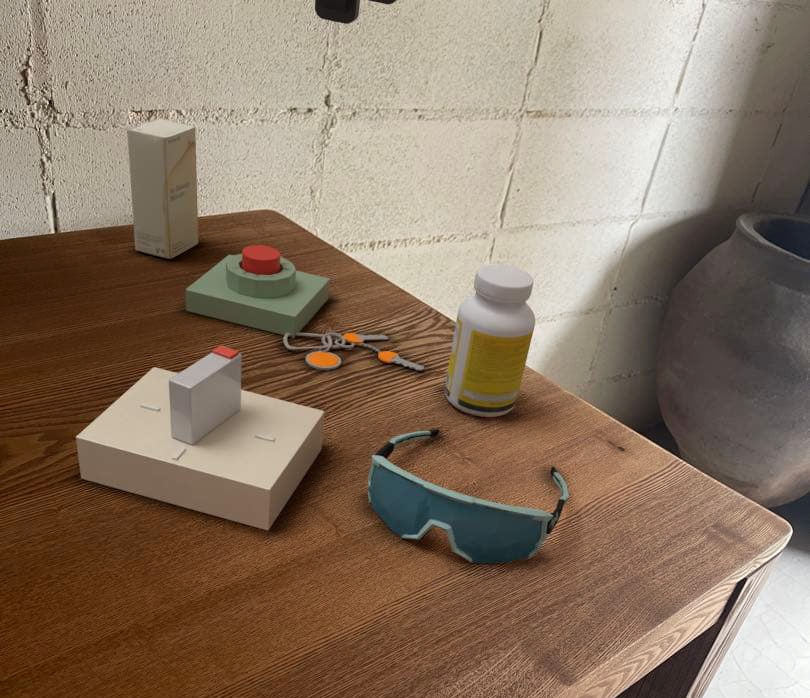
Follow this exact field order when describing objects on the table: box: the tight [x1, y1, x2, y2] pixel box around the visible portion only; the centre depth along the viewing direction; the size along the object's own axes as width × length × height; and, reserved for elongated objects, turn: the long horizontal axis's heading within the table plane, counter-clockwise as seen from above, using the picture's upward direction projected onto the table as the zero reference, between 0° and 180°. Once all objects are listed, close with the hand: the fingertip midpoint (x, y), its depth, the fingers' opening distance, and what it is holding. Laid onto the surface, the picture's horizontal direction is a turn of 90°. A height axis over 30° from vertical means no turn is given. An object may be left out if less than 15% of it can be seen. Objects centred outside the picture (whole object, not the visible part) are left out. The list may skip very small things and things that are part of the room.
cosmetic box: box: [126, 118, 199, 260], centre depth 89 cm, size 6×4×12 cm
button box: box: [185, 253, 331, 338], centre depth 84 cm, size 11×10×4 cm
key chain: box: [282, 332, 425, 372], centre depth 80 cm, size 13×7×1 cm, turn 98°
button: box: [241, 244, 281, 275], centre depth 82 cm, size 4×4×2 cm
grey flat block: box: [169, 344, 242, 445], centre depth 60 cm, size 6×2×5 cm, turn 155°
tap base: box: [75, 366, 325, 531], centre depth 63 cm, size 14×11×4 cm
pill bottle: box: [444, 263, 536, 418], centre depth 73 cm, size 6×6×12 cm
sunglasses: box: [367, 428, 570, 564], centre depth 63 cm, size 14×15×5 cm
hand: (358, 10), depth 48 cm, fingers open, 8 cm apart
